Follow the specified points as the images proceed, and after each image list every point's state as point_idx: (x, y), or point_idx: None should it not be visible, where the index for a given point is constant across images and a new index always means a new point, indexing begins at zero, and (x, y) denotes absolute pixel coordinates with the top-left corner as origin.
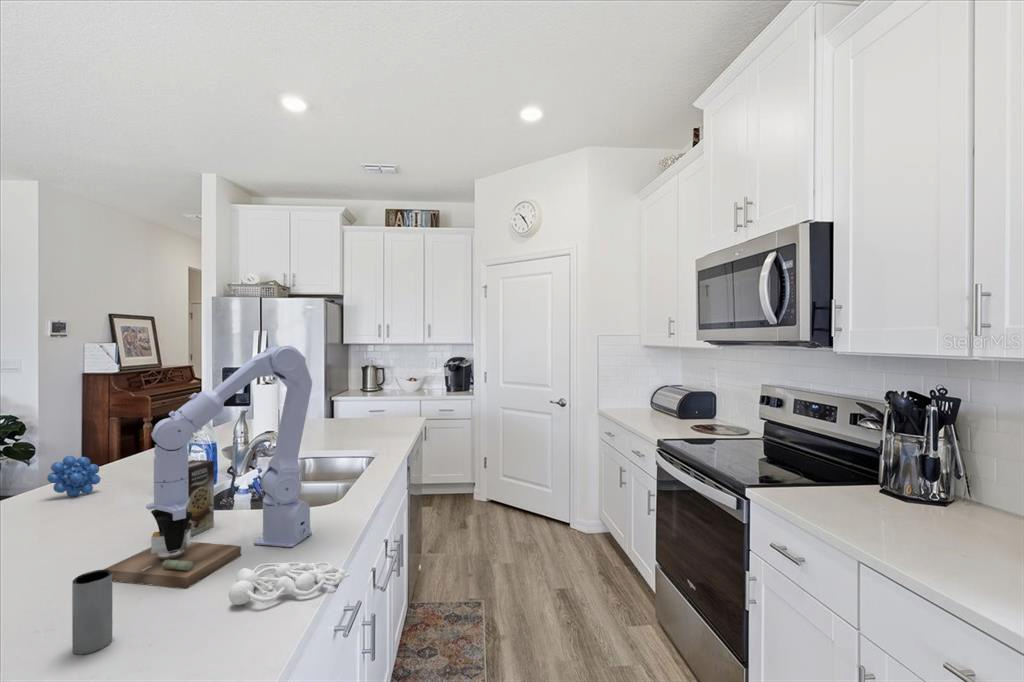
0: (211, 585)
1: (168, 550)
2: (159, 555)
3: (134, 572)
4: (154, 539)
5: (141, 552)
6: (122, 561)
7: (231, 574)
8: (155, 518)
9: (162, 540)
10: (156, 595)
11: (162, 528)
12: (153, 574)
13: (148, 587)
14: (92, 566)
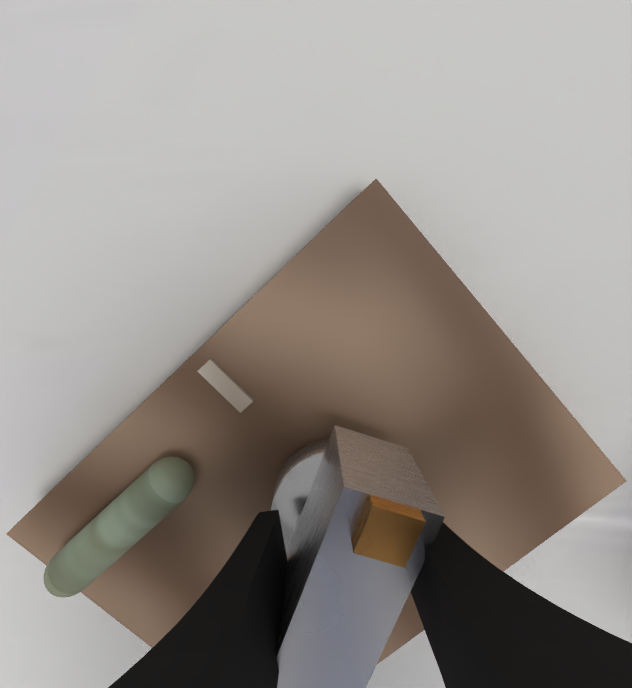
0: (25, 575)
1: (256, 519)
2: (308, 456)
3: (219, 331)
4: (333, 494)
5: (515, 364)
6: (438, 274)
7: (95, 641)
8: (489, 656)
9: (313, 530)
10: (37, 399)
11: (141, 668)
12: (135, 411)
13: (145, 373)
14: (614, 133)
